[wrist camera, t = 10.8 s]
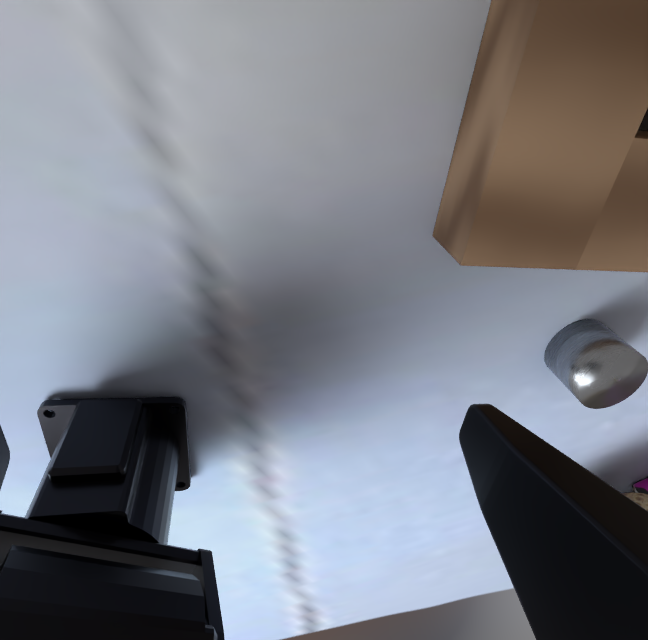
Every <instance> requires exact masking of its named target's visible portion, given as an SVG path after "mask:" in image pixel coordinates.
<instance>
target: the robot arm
mask: <svg viewBox="0 0 648 640" xmlns="http://www.w3.org/2000/svg"><path fill="white" fill-rule="evenodd" d="M174 406H175V407H178V408H176V409H175V408H172V407H174ZM49 410H52V411H54V412H50V411H49ZM37 414H38V418H39V421H40V424H41V428H42V431H43V434H44V438H45V441H46V444H47V447H48V451H49V454H50V457H51V460H50V462H49V464H48V466H47V469H46V471H45V473H44V476H43V478H42V480H41V482H40V485H39V487H38V489H37V491H36V494H35V496H34V498H33V500H32V503H31V505H30V507H29V509H28V512H27V514H26V516H25V518H23V517H18V516H13V515H7V514H2V511H1V510H0V640H224V630H223V624H222V617H221V610H220V604H219V597H218V590H217V584H216V577H215V570H214V564H213V557H212V552H211V551H209V550H204V549H198V550H192V549H186V548H181V547H176V546H171V545H167V542H168V535H169V528H170V521H171V514H172V506H173V499H174V492H175V491H182V490H186V489H188V488H189V487H190V482H191V471H190V456H189V441H188V426H187V411H186V403H185V401H184V400H183V399H181V398H179V397H152V398H108V399H64V400H46V401H44V402H42V404H41V405H40V407H39V409H38V411H37ZM459 440H460V445H461V448H462V451H463V454H464V457H465V461H466V464H467V467H468V470H469V474H470V477H471V480H472V483H473V486H474V490H475V493H476V496H477V499H478V502H479V505H480V508H481V510H482V513H483V515H484V518H485V520H486V523H487V525H488V527H489V530H490V532H491V535H492V537H493V539H494V542H495V544H496V546H497V549H498V551H499V553H500V556H501V558H502V560H503V563H504V565H505V567H506V570H507V572H508V574H509V577H510V579H511V581H512V584H513V586H514V588H515V591H516V593H517V595H518V598H519V600H520V602H521V605H522V607H523V610H524V612H525V614H526V617H527V619H528V621H529V624H530V626H531V628H532V631H533V633H534V635H535V638H536V640H648V511H647V510H646V509H644V508H643V507H641V506H640V505H638V504H637V503H635V502H634V501H632V500H631V499H629V498H628V497H626V496H625V495H624V494H622V493H621V492H619V491H618V490H616V489H615V488H613V487H612V486H610V485H609V484H607V483H606V482H604V481H603V480H601V479H600V478H598V477H597V476H596V475H594V474H593V473H591V472H590V471H588V470H587V469H585V468H584V467H582V466H581V465H579V464H578V463H576V462H575V461H573V460H572V459H571V458H569V457H568V456H566V455H565V454H563V453H562V452H560V451H559V450H557V449H556V448H554V447H553V446H551V445H550V444H548V443H547V442H545V441H544V440H543V439H541V438H540V437H538V436H537V435H535V434H534V433H532V432H531V431H529V430H528V429H526V428H525V427H523V426H522V425H520V424H519V423H518V422H516V421H515V420H513V419H512V418H510V417H509V416H507V415H506V414H504V413H503V412H501V411H500V410H498V409H497V408H495V407H494V406H492V405H490V404H473V405H471V406H470V407H469V408H468V410H467V413H466V416H465V418H464V421H463V424H462V426H461V429H460V433H459ZM9 460H10V451H9V448H8V445H7V442H6V439H5V437H4V434H3V431H2V428H1V426H0V489H1V486H2V483H3V480H4V477H5V474H6V471H7V468H8V464H9Z"/></svg>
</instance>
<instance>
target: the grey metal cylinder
mask: <svg viewBox="0 0 648 640" xmlns="http://www.w3.org/2000/svg"><path fill="white" fill-rule="evenodd" d="M544 359H545V363H546V365H547V367H548V368H549V369H550V370H551V371H552V372H553V373H554V374H555V375H556V376H557V377H558V379H559V380H560V381H561V382H562V383H563V384H564V385H565V386H566V387H567V388H568V389H569V390H570V391H571V392H572V394H573V395H574V396H575V397H576V398H577V399H578V400H579V401H580V402H581V403H582V404H583V405H584V406H586V407H588V408H593V409H600V408H606V407H610V406H612V405H615V404H617V403H619V402H621V401H623V400H625V399H626V398H628V397H629V396H630V395H632V394H633V393H634V392H635V391H636V390H637V389H638V388H639V387H640V386H641V384H642V383H643V381H644V380H645V378H646V376H647V373H648V362H647V360H646V358H645V357H644V356H643V355H641V354H640V353H639V352H638V351H636V350H635V349H634V348H633V347H631V346H630V345H629V344H628V343H626V342H625V341H624V340H623V339H621V338H620V337H619V336H618V335H616V334H615V333H614V332H612V331H611V330H610V329H609V328H607V327H606V326H605V325H604V324H602V323H601V322H599V321H597V320H592V319H585V320H580V321H577V322H574V323H572V324H570V325H568V326H566V327H564V328H563V329H562V330H560V331H559V332H558V333H557V334H556V335H555V336H554V337H553V338H552V339H551V341H550V342H549V344H548V346H547V348H546V350H545V356H544Z"/></svg>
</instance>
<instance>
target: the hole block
mask: <svg viewBox="0 0 648 640" xmlns="http://www.w3.org/2000/svg"><path fill="white" fill-rule="evenodd" d="M647 108H648V0H492V1H491V5H490V9H489V13H488V17H487V21H486V25H485V29H484V33H483V37H482V41H481V45H480V49H479V53H478V57H477V60H476V64H475V68H474V72H473V76H472V80H471V84H470V88H469V92H468V96H467V100H466V104H465V108H464V112H463V116H462V120H461V124H460V128H459V132H458V136H457V140H456V144H455V148H454V152H453V156H452V160H451V164H450V168H449V172H448V176H447V180H446V184H445V188H444V192H443V196H442V200H441V204H440V208H439V212H438V216H437V220H436V224H435V228H434V232H433V237H434V238H435V239H436V240H437V241H438V242H439V243H440V244H441V245H442V246H443V247H444V248H445V249H446V251H447V252H448V253H449V254H450V255H451V256H452V257H453V258H454V259H455V260H456V261H457V262H458V263H459V264H460V265H462V266H490V267H517V268H545V269H572V270H600V271H627V272H648V131H642V130H638V128H639V126H640V124H641V122H642V119H643V117H644V115H645V113H646V111H647Z"/></svg>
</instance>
